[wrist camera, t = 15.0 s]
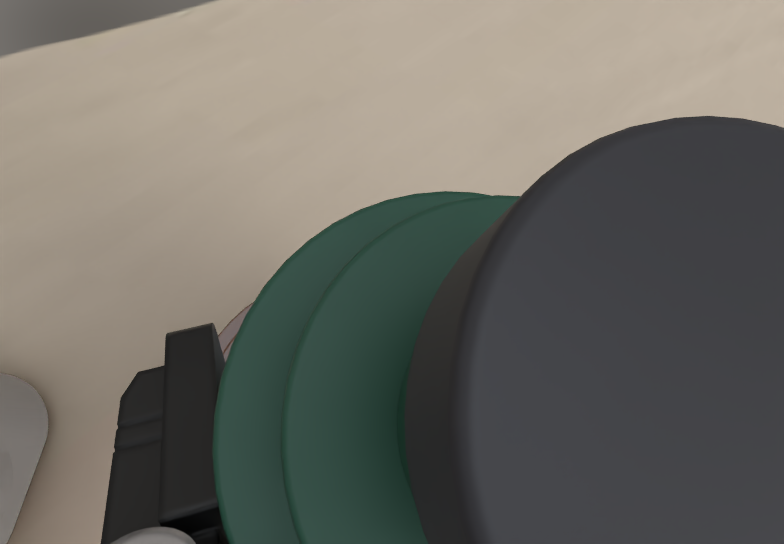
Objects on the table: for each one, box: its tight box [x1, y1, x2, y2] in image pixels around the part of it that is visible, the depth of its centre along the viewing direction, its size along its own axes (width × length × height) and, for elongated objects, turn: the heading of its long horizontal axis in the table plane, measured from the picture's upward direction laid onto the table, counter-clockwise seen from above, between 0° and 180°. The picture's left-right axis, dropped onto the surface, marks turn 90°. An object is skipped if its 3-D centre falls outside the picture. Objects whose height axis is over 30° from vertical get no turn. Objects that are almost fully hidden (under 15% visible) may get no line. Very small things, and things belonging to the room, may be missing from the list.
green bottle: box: [212, 116, 784, 544], centre depth 9 cm, size 6×6×15 cm
